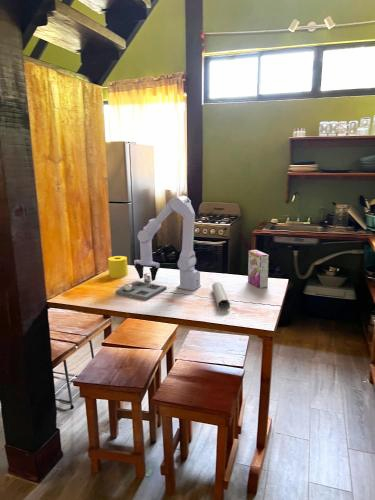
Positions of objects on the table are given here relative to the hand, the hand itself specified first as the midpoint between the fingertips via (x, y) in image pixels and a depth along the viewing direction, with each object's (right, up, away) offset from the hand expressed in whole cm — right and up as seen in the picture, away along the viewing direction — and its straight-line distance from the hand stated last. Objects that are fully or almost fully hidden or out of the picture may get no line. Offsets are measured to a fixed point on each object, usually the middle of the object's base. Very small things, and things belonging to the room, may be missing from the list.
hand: (147, 279), depth 182 cm
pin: (-7, -5, -15) cm, 18 cm away
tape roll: (-17, +1, +12) cm, 21 cm away
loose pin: (0, -1, 0) cm, 2 cm away
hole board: (-1, -5, -13) cm, 14 cm away
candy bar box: (+55, -2, -6) cm, 56 cm away
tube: (+35, -7, -24) cm, 43 cm away
